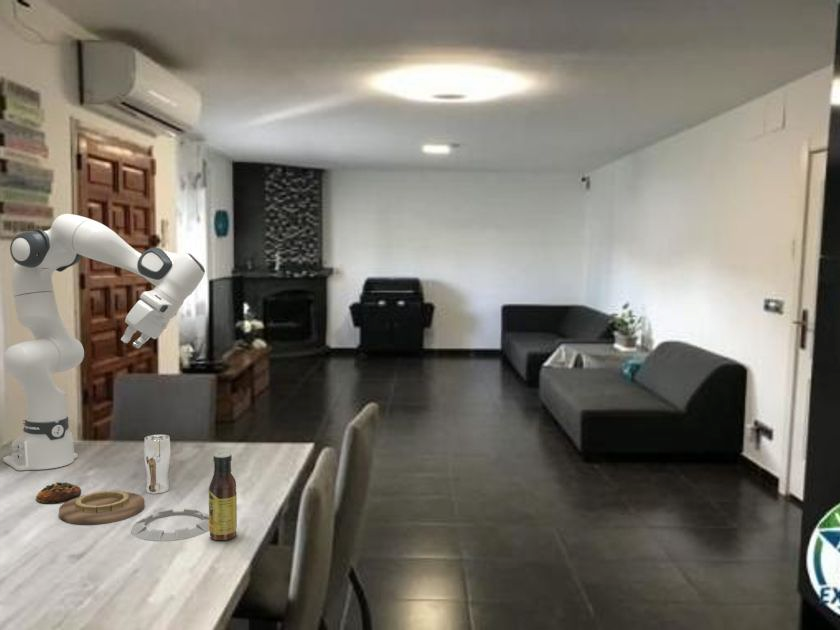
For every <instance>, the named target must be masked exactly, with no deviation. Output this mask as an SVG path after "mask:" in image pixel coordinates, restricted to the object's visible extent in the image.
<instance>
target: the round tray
mask: <svg viewBox="0 0 840 630" xmlns="http://www.w3.org/2000/svg"><path fill="white" fill-rule="evenodd" d="M145 507H146V506H145V498H144V497H143V496H142V495H141V494H138V493H135V492H129V491H120V490H102V491H96V492H91V493H87V494H84V495H80V496H79V497H77V498H74V499H72V500H70V501H67V502H64V503H62V504H61V505H60V506H59V508H58V517H59V519H60V520H61V521H62V522H64V523H67V524H71V525H79V526H80V525H81V526H82V525H83V526H92V525H93V526H94V525H103V524H104V525H105V524H110V523H115V522H119V521H120V522H121V521H122V520H123V521H124V520H127V519H130V518H132V517H134V516H136V515H138V514H140V513H141V512H142V511H143V510H144V509H145Z"/></svg>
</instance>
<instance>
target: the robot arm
mask: <svg viewBox="0 0 840 630" xmlns="http://www.w3.org/2000/svg"><path fill="white" fill-rule="evenodd" d="M9 250H10V251H9V252H10V256H11V258H12V261H14V262H15V263H14V265H13V266H12V269H11V288H12V295H13V300H14V306H15V312H16V316H17V320H18V322H19V323H20V325H21V326H23V327H25V328H27V330H29V331H30V332H31V333H32V335H33V337H34V338H35V339H32V340H25V341H22V342H18V343H15V344H13V345H11V346H10V347H8V348H7V349H6V350H5V353H4V355H3V358H2V359H3V360H2V361H3V366H4V368H5V370H6V371H7V373H8V374H9V375H10V376H12V377H14V378H15V379H16V380H17V382H18V383H19V385H21V388H22V391H23V394H24V397H25V408H26V409H25V411H26V419H24V420H22V422H23V423H22V424H23V429H22V432H21V433H20V435H18V437H16V438H15V439H14V440H13V441H12V442H11V445H10V447H9V450H10V453H11V454H8V455H7V456H4V457H3V458H2V461H3V462H4V463H5V464H7V465H9V467H11V468H12V469H14V470H16V471H30V470H31V471H35V470H36V471H37V470H49V469H50V470H51V469H56V468H61V467H64V466H65V467H66V466H68V465H70V464H72V463H73V462H75V459H77V458H78V453H76V452H75V450H74V442H73V433H72V432H71V431H70V430H69V427H70V425H69V424H70V421H69V416H67V415H68V408H67V393H66V391H65V390H64V389H63V388H61V386H60V387H59V386H57V385H56V383H55V381H54V376H53V374H55V373H56V374H57V373H61V372H66V371H69V370H71V369H74V368H75V367H78V366H79V365H81V363H82V362H83V360H84V358H85V350H84V347H83V343H82V342H81V341H80V340H79V339H77V338H75V337H74V336H73V335H72V334H70V332H69V331H68V330H67V328H66V327H65V325H64V323H63V322H62V321H63V320H62V319H61V316H60V313H59V309H58V305H57V300H56V295H55V290H54V285H53V280H52V278H53V274H54V273H55V271H57V272H58V273H59V272H60V273H61V272H63V271H65V270H66V269H68V268H70V267H73V266H74V265H77V264H78V263H79V262H80V261H81V260H82V258H83V257H84V258H88V259H91V260H94V261H96V262H101V263H104V264H107V265H109V266H113V267H117V268H119V269H123V270H126V271H128V272H130V273H132V274H135V275H137V276H139V277H141V278H144V280H145V279H146V280H147V281H148V282H150V283H151V284H152V285H153V286H155V287H154V288H153V289H151V290H149V291H147V290H146V291H143V292H141V294H140V296H139V298H140V299H139V300H138V301H136V303H135V304H134V305H133V307H132V308H131V309H130V310H129V312H128V313H127V315H126V317H125V319H124V323H126V324H127V325H128V326H127V327H126V329H125V331H124V334H123V335H122V337H121V338H120V341H122V342H123V343H124V344H128V343H130V341H131V340H132V338H133V336H134V334H136V332H137V331H138V332H140V337H138V338H137V339H135V340H134V342H132V346H133V347H134V348H136V349H140V348H141V347H142V346H143V345H144V344H145V343H146V342H147V341H149V339H151V338H152V339H153V340H156V339H158V338H159V337H160V336H161V334H163V332H164V331H165V329H166V327H168V325H169V323H170V321H171V319H172V318H174V316H175V315H176V314H177V312H178V311H179V309H181V307H182V306H183V304H184V302H185V300H186V299H187V298H188V297H189V296H190V295H191V294H192V293H193V292H194V291H195V289H197V287H199V285H200V283H201V282H202V280H203V278H204V276H205V272H206V271H205V267H204V266H203V265H202V263H201V262H199V260H197V259H196V257H195V256H193V255H192V254H191V253H188V252H185V253H177V252H171V251H167V250H164V249H161V248H160V247H151V248H148V249H146V250H145V251H143V253H140V252H139V251H137V250H136V249H135V248H133V247H132V246H131V245H129V244H128V243H127V242H126V241H125V240H124V239H123V238H122V237H121V236H119V235H118V234H117V233H116V232H115V231H114V230H112V229H111V228H110V227H108V226H106V225H105V224H103V223H102V222H99V221H96V220H94V219H92V218H89V217H85V216H82V215H79V214H78V215H77V214H72V213H63V214H61V215H59V216H57V217H56V218H55V219H54V220H53V222H52V224H51V227H50V228H49V229H47V230H43V229H41V228H37V229H33V230H29V231H24V232H22V233H18V234H17V235H15V236H14V237H13V238H12V240H11V242H10V246H9Z"/></svg>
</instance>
